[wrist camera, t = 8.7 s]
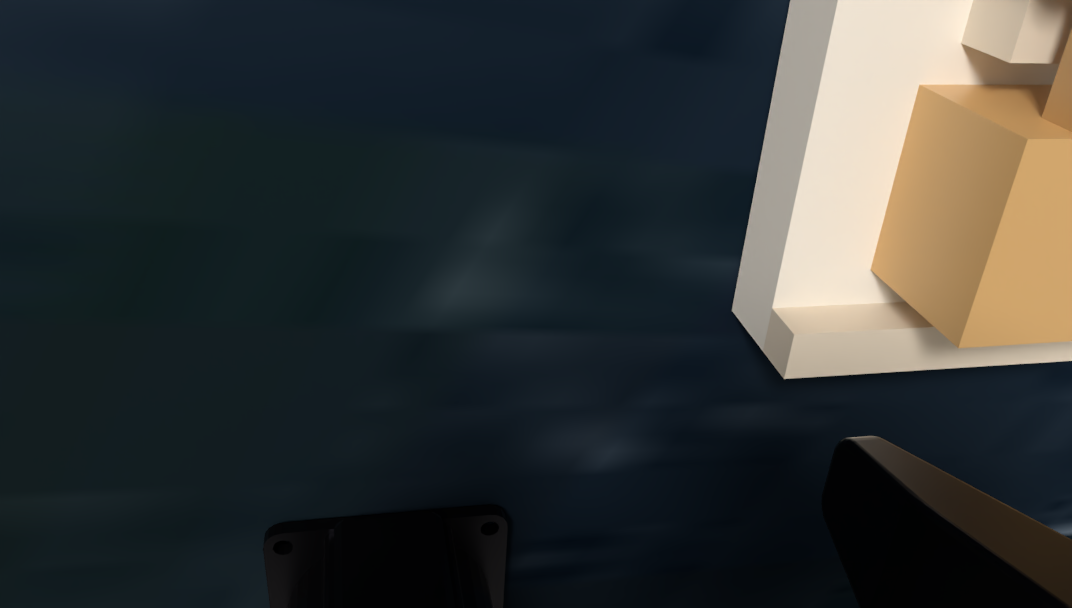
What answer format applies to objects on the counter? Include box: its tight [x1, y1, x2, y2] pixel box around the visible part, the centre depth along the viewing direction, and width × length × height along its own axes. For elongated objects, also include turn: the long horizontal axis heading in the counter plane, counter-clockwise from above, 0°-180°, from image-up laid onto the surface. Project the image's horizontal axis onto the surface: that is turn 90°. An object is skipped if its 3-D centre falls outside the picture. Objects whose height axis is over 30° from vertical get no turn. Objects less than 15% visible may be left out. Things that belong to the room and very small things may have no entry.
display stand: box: [732, 0, 1072, 379], centre depth 19 cm, size 9×16×4 cm, turn 176°
